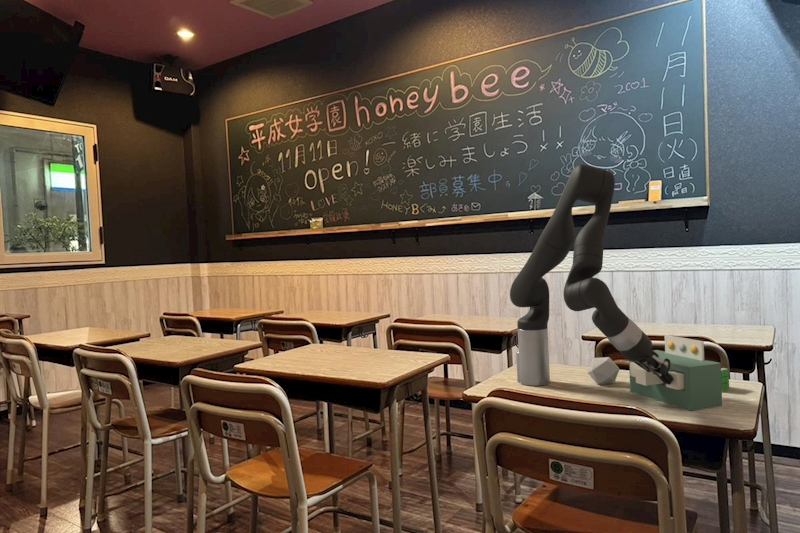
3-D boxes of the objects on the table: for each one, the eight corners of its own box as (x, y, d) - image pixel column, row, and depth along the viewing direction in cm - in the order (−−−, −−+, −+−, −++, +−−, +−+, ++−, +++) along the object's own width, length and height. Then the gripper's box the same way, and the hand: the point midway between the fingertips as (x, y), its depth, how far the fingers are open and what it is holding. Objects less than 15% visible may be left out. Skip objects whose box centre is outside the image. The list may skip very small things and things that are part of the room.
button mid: (635, 382, 151) (635, 368, 151) (654, 380, 152) (653, 366, 152) (646, 385, 147) (645, 371, 147) (664, 383, 149) (664, 368, 149)
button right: (666, 386, 145) (665, 372, 145) (684, 383, 147) (684, 369, 147) (677, 389, 141) (676, 374, 141) (696, 387, 143) (695, 372, 143)
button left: (630, 375, 159) (629, 362, 158) (647, 373, 160) (647, 360, 160) (639, 378, 155) (639, 364, 155) (657, 376, 157) (657, 362, 157)
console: (630, 391, 161) (628, 336, 161) (658, 387, 164) (656, 332, 164) (691, 411, 140) (688, 347, 140) (722, 405, 143) (720, 343, 143)
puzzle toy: (729, 388, 159) (728, 368, 159) (718, 392, 156) (717, 371, 156) (709, 385, 164) (708, 365, 164) (698, 388, 161) (697, 368, 161)
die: (615, 390, 166) (627, 361, 169) (588, 375, 168) (600, 347, 170) (606, 393, 174) (617, 365, 177) (580, 379, 175) (592, 352, 178)
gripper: (655, 329, 133) (698, 375, 137) (618, 323, 146) (658, 365, 150) (637, 354, 132) (681, 399, 136) (602, 345, 145) (643, 387, 149)
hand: (669, 381), depth 143 cm, fingers closed
